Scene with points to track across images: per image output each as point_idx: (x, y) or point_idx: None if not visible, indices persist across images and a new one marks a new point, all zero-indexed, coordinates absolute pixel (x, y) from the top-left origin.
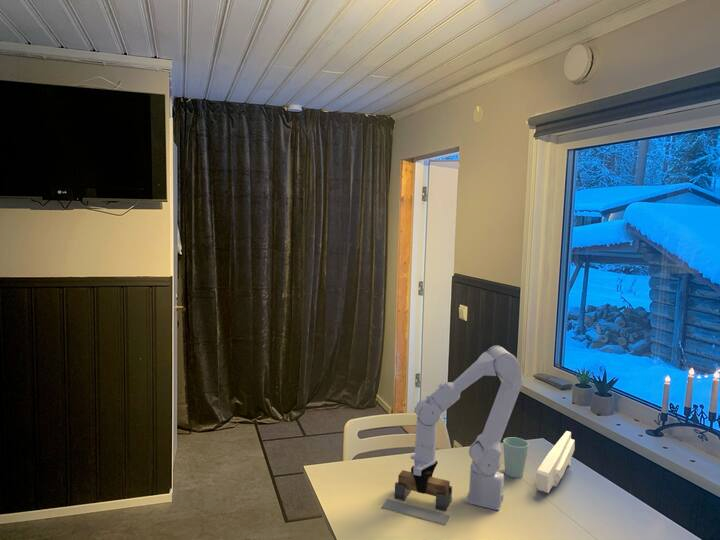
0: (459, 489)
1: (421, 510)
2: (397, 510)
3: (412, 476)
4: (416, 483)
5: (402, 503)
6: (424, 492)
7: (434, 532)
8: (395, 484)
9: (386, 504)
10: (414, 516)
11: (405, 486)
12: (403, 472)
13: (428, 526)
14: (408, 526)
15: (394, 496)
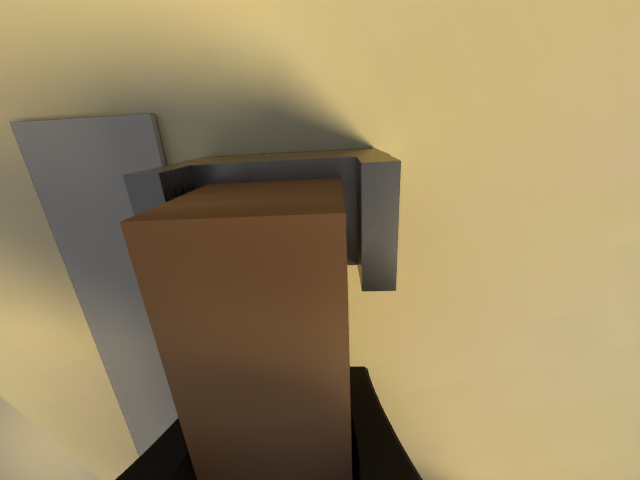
0: (528, 454)
1: None
2: (70, 246)
3: (228, 406)
4: (162, 443)
5: None
6: None
7: (66, 444)
8: (133, 179)
9: (74, 144)
10: (98, 347)
11: None
12: (268, 259)
13: (86, 416)
14: (6, 344)
15: (199, 158)
